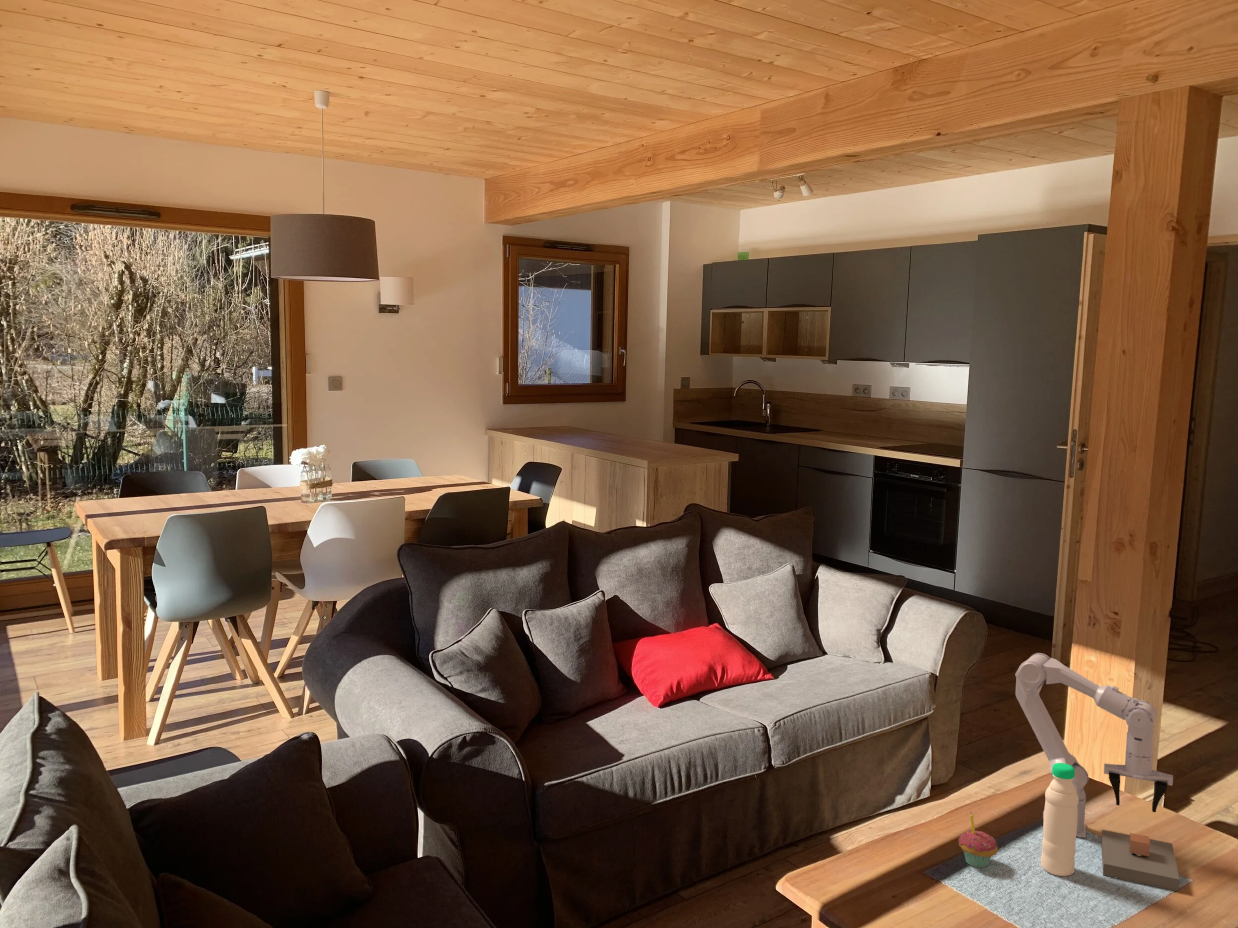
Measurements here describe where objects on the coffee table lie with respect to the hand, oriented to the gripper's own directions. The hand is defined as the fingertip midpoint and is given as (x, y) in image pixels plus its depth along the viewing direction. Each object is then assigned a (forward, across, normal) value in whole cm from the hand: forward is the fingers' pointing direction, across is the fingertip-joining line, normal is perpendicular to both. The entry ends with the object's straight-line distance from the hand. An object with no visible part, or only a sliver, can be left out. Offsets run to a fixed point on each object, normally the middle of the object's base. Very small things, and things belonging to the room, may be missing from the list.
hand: (1135, 806), depth 231 cm
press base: (+10, +1, -9) cm, 13 cm away
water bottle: (+10, -16, -20) cm, 28 cm away
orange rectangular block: (+10, +1, -9) cm, 13 cm away
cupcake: (+10, -33, -25) cm, 43 cm away
